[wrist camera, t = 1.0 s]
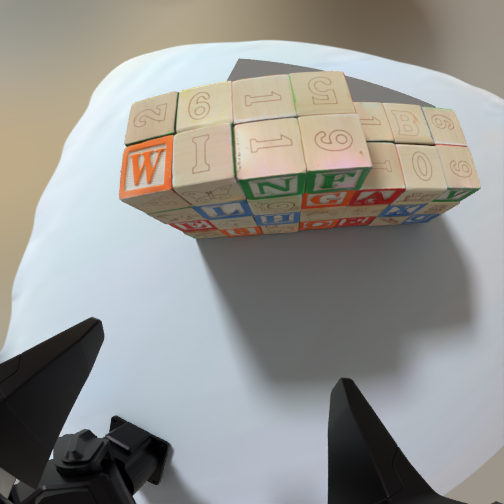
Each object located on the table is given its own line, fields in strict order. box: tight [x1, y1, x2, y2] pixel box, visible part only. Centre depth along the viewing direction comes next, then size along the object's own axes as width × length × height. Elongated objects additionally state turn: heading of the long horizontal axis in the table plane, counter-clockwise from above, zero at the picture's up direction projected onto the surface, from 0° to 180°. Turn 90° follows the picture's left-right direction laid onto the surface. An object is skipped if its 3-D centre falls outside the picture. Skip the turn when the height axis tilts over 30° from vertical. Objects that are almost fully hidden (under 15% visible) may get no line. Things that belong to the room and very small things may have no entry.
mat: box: [227, 59, 436, 108], centre depth 25 cm, size 13×24×1 cm, turn 72°
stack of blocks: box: [119, 71, 481, 239], centre depth 18 cm, size 21×6×12 cm, turn 92°
